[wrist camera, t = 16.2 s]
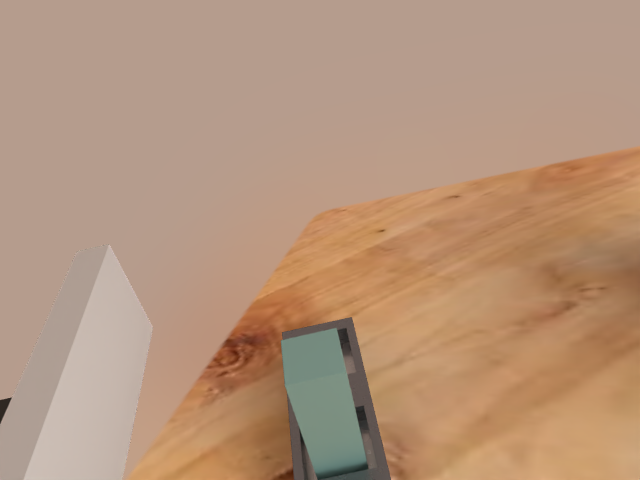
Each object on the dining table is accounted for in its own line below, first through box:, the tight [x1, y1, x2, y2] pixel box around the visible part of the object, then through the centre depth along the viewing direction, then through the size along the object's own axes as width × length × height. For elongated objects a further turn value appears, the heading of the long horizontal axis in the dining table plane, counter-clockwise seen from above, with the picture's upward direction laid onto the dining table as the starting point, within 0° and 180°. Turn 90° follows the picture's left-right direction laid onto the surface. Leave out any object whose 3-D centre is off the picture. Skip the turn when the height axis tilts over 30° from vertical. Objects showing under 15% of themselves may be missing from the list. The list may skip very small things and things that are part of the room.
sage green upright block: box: [281, 328, 369, 480], centre depth 38 cm, size 4×4×12 cm
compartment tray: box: [282, 317, 391, 480], centre depth 45 cm, size 17×7×3 cm, turn 7°
